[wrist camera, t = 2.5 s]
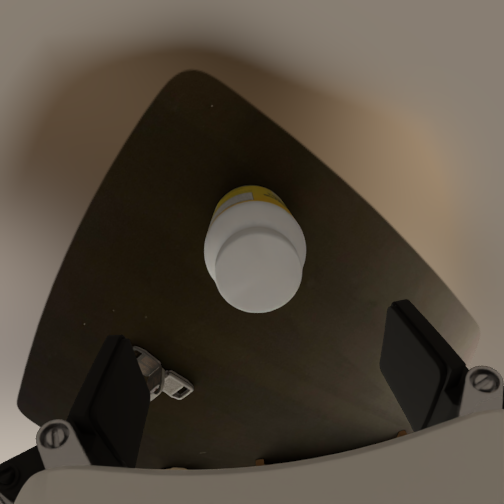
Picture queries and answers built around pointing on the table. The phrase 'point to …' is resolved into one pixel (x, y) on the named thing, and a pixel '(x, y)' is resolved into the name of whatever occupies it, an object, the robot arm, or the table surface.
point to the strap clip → (161, 377)
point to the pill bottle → (254, 249)
